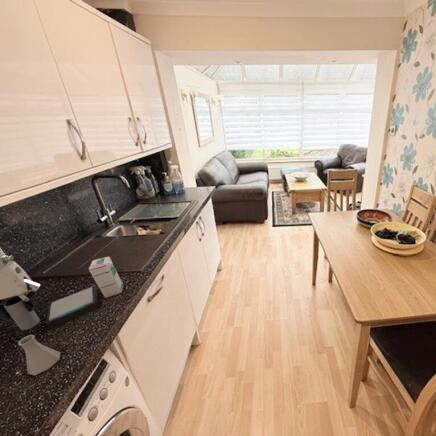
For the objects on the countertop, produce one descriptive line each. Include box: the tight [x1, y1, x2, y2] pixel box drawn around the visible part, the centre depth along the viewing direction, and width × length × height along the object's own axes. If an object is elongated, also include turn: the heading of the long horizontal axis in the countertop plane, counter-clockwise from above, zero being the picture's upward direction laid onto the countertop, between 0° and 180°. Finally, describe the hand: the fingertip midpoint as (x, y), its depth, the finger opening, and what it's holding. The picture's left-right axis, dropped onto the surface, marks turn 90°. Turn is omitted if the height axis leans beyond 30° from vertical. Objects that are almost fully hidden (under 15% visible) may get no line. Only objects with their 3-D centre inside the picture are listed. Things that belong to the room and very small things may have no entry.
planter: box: [3, 296, 41, 331], centre depth 75 cm, size 4×4×10 cm
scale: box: [45, 285, 100, 330], centre depth 88 cm, size 14×12×3 cm
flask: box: [17, 334, 61, 376], centre depth 67 cm, size 7×7×10 cm
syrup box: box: [88, 255, 124, 299], centre depth 92 cm, size 6×6×14 cm
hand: (21, 311), depth 75 cm, fingers closed on planter, 4 cm apart
